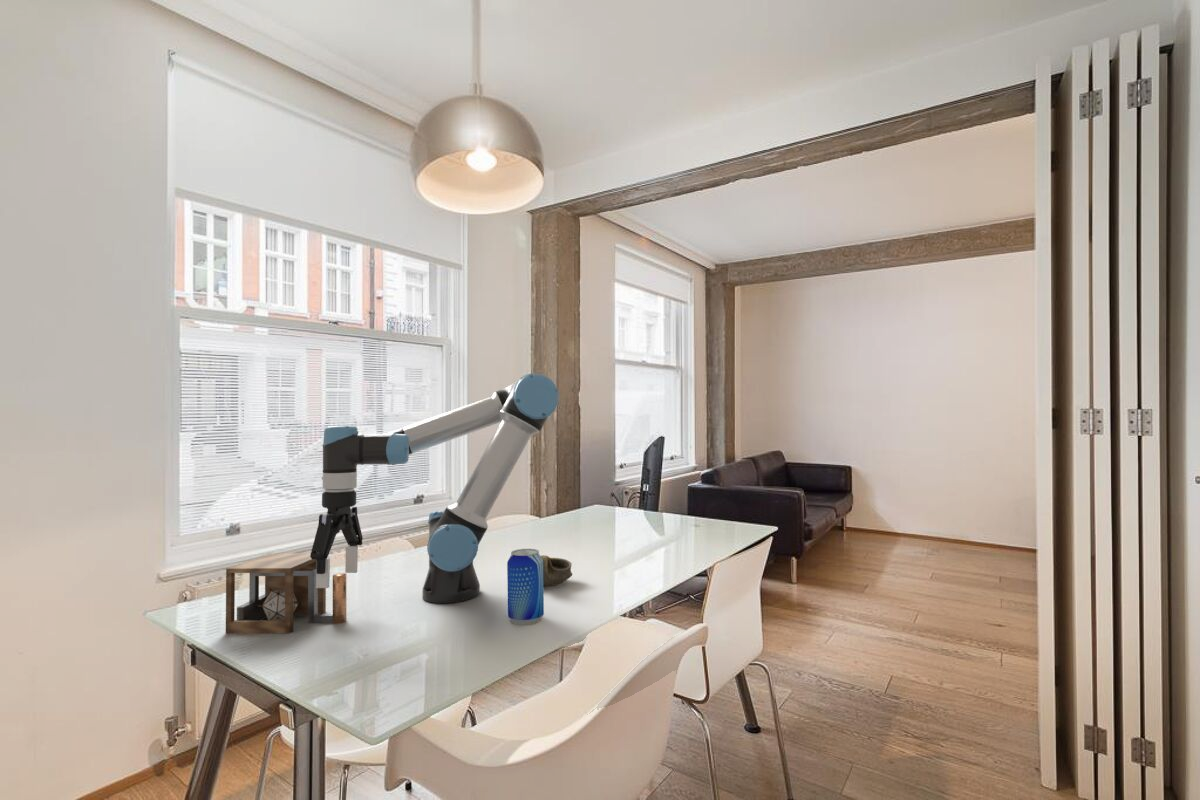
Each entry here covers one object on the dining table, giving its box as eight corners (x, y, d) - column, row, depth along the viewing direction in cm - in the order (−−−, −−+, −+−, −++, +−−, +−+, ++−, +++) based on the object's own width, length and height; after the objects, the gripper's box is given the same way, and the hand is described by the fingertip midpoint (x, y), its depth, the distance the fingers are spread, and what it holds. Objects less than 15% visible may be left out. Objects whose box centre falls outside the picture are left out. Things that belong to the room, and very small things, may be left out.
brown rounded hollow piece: (575, 577, 174) (574, 544, 174) (566, 595, 156) (565, 557, 157) (530, 577, 175) (529, 544, 175) (516, 594, 157) (516, 557, 158)
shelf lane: (325, 611, 146) (325, 553, 146) (290, 633, 130) (290, 568, 131) (267, 611, 147) (268, 553, 147) (225, 633, 131) (226, 568, 132)
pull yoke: (355, 614, 143) (355, 564, 143) (335, 629, 133) (335, 575, 133) (263, 614, 144) (264, 565, 144) (236, 629, 134) (237, 575, 134)
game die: (282, 639, 137) (277, 613, 131) (253, 625, 139) (247, 598, 133) (311, 611, 144) (307, 584, 139) (283, 597, 146) (278, 570, 140)
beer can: (549, 616, 139) (548, 548, 140) (534, 627, 131) (533, 556, 132) (518, 612, 142) (517, 546, 143) (501, 624, 134) (500, 554, 135)
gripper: (349, 484, 152) (347, 566, 151) (294, 496, 127) (292, 594, 126) (377, 484, 151) (375, 567, 150) (327, 496, 126) (325, 595, 125)
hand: (337, 579), depth 138 cm, fingers open, 13 cm apart
